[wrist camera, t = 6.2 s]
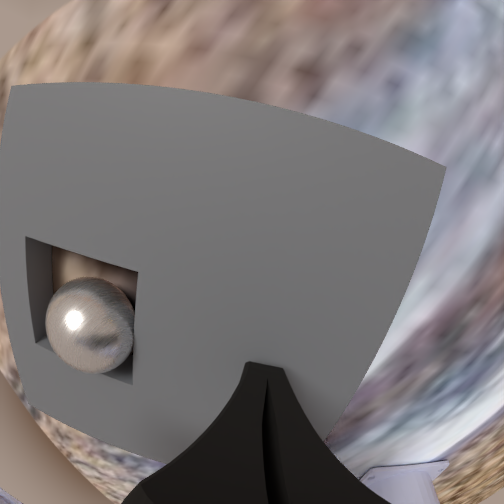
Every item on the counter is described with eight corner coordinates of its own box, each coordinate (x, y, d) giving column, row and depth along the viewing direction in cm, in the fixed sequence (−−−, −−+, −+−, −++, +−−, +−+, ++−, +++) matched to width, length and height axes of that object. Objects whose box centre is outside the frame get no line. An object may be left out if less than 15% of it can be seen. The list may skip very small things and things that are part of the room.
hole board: (289, 461, 16) (289, 486, 14) (43, 386, 15) (28, 403, 13) (420, 164, 10) (446, 167, 8) (39, 90, 10) (11, 85, 8)
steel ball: (78, 406, 9) (29, 339, 10) (143, 370, 13) (93, 318, 14) (86, 338, 8) (33, 264, 9) (167, 306, 11) (108, 252, 13)
